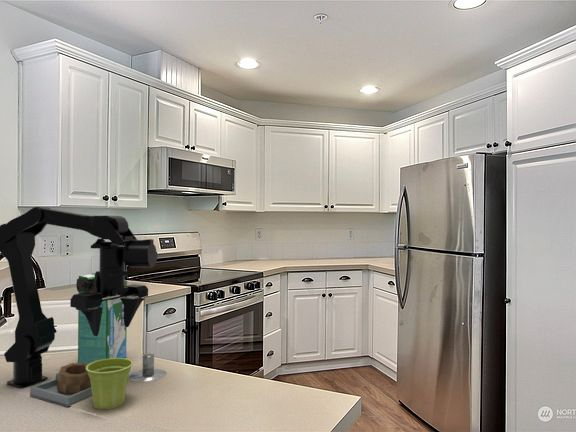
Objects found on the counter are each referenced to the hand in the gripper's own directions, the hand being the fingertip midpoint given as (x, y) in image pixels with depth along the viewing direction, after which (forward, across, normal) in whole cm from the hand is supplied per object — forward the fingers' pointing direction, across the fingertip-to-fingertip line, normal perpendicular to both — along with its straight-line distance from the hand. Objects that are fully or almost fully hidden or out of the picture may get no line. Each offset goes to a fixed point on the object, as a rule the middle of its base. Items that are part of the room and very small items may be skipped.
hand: (111, 331), depth 102 cm
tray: (+13, +6, -4) cm, 15 cm away
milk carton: (+13, -10, -15) cm, 22 cm away
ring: (+12, +6, -6) cm, 15 cm away
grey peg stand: (+13, -8, +4) cm, 16 cm away
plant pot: (+13, +8, +9) cm, 18 cm away
